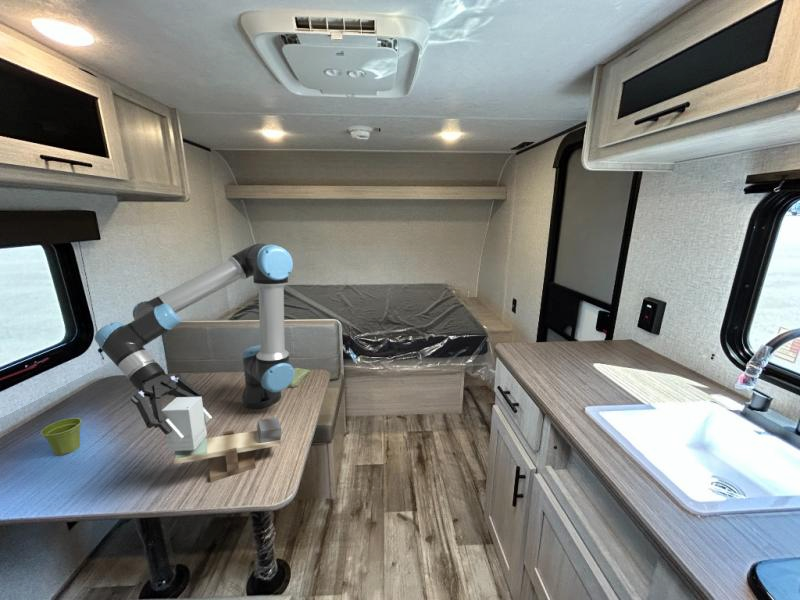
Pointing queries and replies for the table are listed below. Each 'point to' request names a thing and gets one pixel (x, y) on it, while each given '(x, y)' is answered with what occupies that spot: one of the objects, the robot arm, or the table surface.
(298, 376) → the washcloth
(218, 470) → the fulcrum stand
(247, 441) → the seesaw beam
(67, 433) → the plant pot
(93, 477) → the table surface
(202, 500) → the table surface
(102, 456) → the table surface
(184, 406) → the supplement box
